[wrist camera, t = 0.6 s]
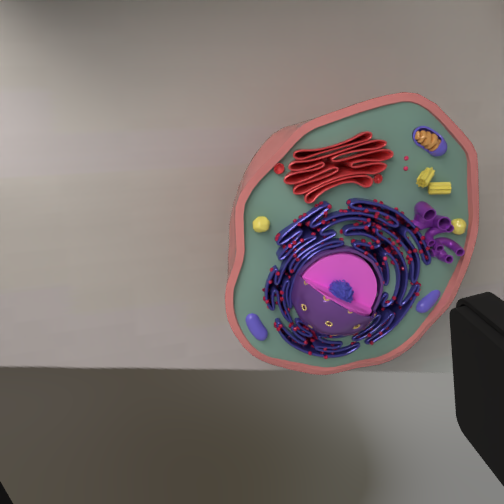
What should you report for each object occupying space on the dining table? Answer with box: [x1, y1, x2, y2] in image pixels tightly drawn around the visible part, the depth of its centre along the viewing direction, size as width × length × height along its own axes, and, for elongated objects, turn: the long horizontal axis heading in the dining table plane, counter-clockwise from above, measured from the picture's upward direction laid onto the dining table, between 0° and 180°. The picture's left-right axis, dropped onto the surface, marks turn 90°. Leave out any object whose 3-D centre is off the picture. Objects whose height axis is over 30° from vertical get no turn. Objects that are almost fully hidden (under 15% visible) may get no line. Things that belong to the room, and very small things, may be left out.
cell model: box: [225, 92, 479, 375], centre depth 33 cm, size 17×20×11 cm
